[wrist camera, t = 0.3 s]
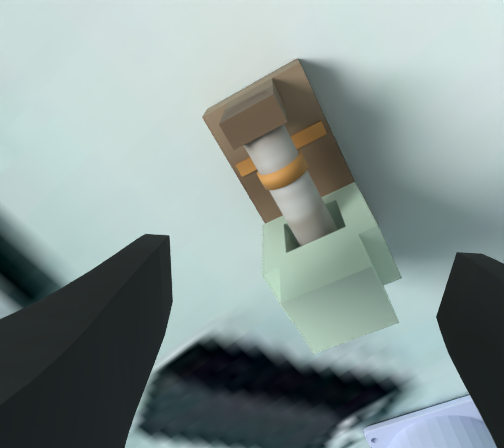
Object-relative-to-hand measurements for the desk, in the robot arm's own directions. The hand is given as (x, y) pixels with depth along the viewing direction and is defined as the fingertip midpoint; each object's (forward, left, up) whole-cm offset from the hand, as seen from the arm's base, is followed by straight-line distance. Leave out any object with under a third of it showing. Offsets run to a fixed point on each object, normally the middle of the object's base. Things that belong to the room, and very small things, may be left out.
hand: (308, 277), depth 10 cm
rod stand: (-1, 0, -10) cm, 10 cm away
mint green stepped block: (-3, 0, -8) cm, 8 cm away
